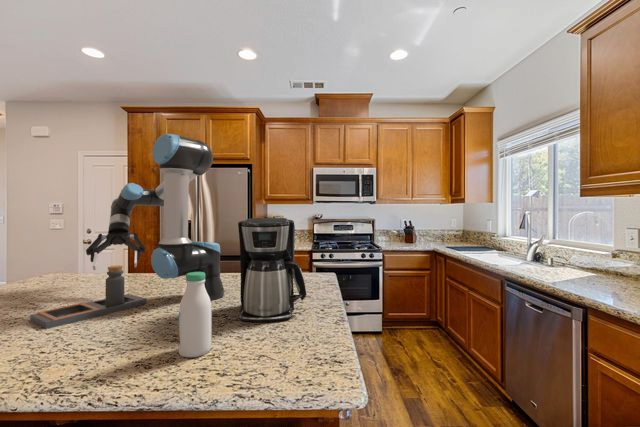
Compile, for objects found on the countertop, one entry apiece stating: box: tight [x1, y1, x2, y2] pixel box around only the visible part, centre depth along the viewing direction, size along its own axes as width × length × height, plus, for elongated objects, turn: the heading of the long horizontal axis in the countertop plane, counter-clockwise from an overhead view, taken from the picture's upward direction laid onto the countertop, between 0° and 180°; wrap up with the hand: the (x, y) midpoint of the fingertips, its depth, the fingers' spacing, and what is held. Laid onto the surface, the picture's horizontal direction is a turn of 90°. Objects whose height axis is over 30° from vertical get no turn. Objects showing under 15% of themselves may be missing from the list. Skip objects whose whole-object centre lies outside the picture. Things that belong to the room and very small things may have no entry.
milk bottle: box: [178, 272, 212, 358], centre depth 77 cm, size 8×8×20 cm
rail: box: [29, 293, 147, 330], centre depth 107 cm, size 13×30×2 cm, turn 149°
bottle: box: [104, 265, 125, 307], centre depth 113 cm, size 6×6×15 cm
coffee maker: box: [237, 217, 307, 323], centre depth 112 cm, size 23×32×34 cm
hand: (115, 266), depth 120 cm, fingers open, 13 cm apart
